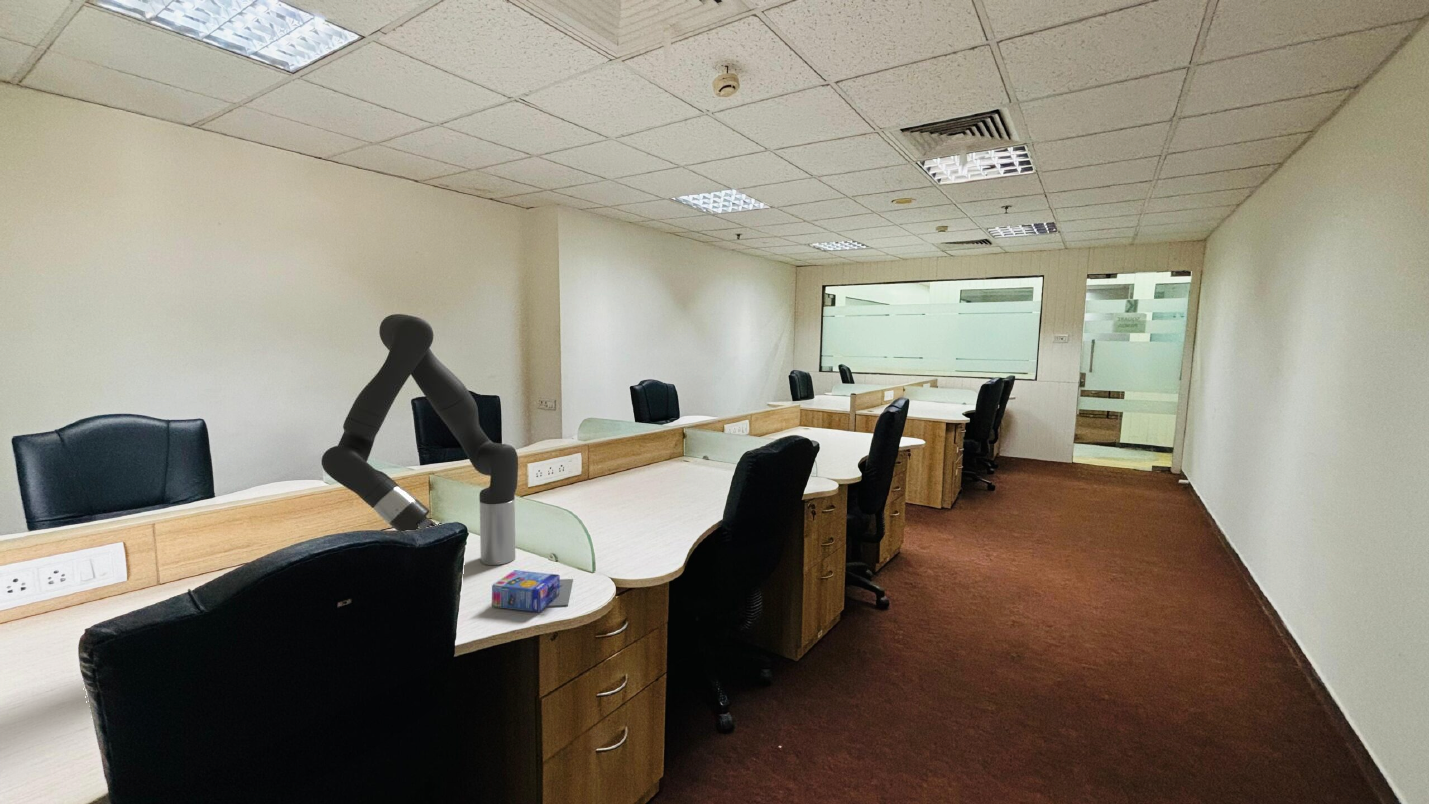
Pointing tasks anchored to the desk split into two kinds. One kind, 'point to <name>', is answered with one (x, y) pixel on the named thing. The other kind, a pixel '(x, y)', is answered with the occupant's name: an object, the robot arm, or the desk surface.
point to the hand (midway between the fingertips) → (459, 559)
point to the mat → (562, 594)
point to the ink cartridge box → (525, 590)
